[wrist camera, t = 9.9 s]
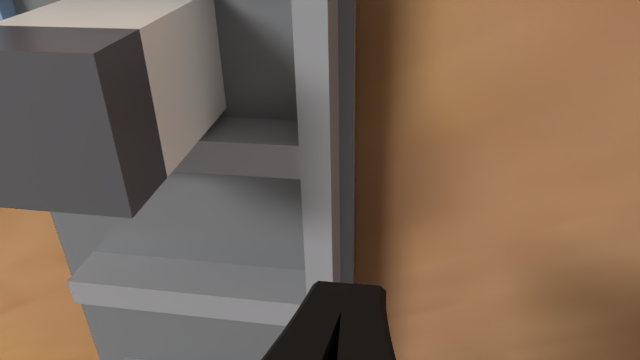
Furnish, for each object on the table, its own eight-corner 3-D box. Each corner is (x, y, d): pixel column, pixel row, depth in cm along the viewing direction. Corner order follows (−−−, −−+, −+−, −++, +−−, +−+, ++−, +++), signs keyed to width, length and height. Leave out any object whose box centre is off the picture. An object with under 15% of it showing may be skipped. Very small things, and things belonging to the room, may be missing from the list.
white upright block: (226, 108, 18) (132, 218, 13) (121, 103, 19) (-16, 205, 13) (212, -11, 17) (93, 53, 11) (95, -12, 17) (-79, 47, 11)
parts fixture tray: (353, 403, 26) (344, 469, 23) (113, 372, 28) (77, 428, 25) (357, -134, 15) (341, -136, 12) (-47, -120, 17) (-146, -119, 14)
